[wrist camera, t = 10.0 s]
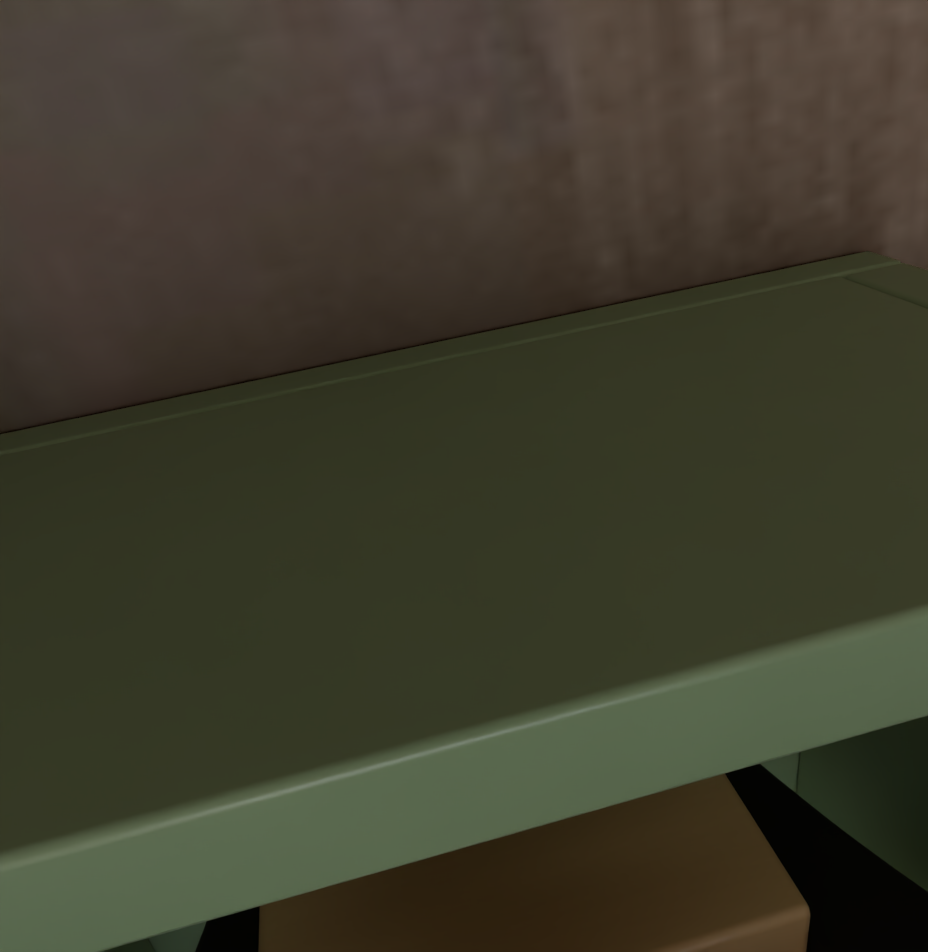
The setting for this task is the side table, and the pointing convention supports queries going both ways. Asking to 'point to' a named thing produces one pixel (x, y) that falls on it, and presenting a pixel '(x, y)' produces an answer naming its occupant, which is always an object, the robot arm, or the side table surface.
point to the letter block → (571, 889)
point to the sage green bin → (466, 601)
